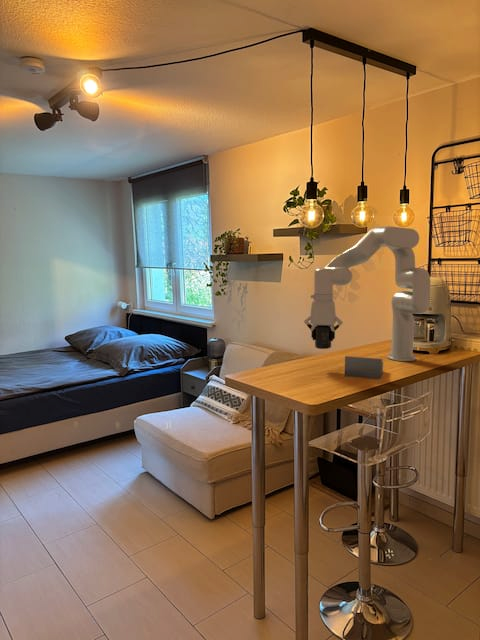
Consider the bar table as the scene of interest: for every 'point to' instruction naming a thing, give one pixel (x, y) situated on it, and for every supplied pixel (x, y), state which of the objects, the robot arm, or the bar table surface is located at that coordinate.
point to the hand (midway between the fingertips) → (323, 339)
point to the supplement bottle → (322, 337)
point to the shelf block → (363, 367)
